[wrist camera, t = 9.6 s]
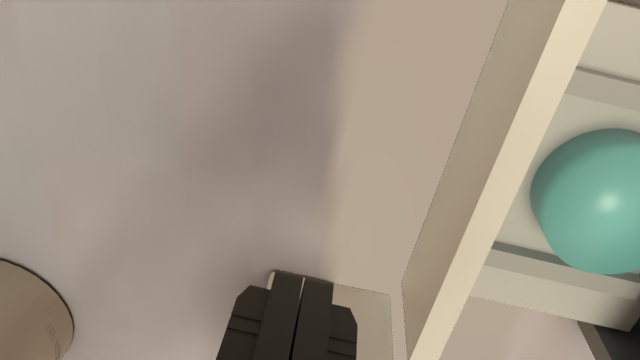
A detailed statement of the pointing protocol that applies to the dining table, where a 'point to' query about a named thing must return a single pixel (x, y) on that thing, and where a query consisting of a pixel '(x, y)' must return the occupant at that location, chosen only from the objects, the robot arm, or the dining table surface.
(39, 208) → the dining table surface
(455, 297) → the tray
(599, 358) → the player housing
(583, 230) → the disc
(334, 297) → the milk carton
